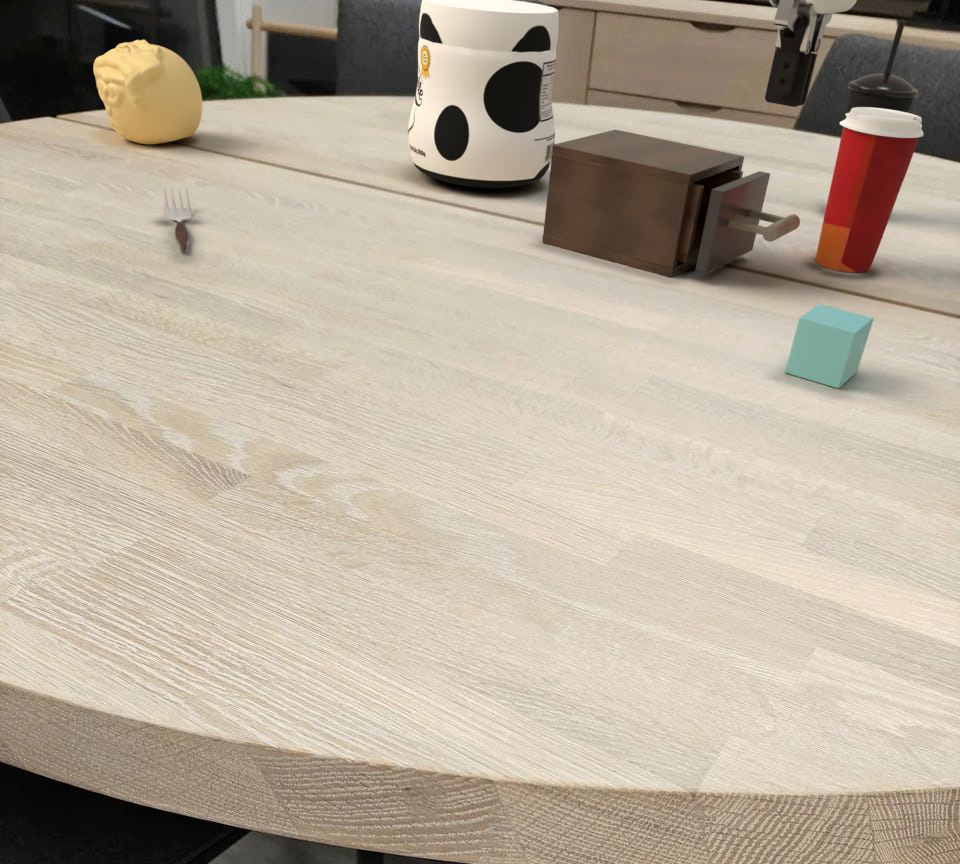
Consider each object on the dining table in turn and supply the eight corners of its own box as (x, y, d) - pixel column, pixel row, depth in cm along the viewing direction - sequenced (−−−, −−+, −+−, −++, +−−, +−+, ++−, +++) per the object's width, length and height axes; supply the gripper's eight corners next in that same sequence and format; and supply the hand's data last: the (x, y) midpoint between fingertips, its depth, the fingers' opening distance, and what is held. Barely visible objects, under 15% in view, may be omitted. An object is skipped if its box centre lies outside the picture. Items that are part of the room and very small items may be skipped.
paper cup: (884, 262, 105) (931, 114, 96) (875, 281, 99) (924, 125, 90) (810, 247, 107) (849, 102, 98) (797, 265, 101) (837, 112, 93)
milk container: (388, 163, 124) (391, -9, 113) (516, 162, 129) (531, -2, 118) (434, 200, 111) (442, 10, 100) (573, 197, 117) (595, 17, 106)
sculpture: (88, 133, 124) (73, 33, 117) (176, 127, 131) (166, 31, 124) (132, 153, 118) (119, 48, 111) (222, 145, 124) (214, 45, 118)
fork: (169, 257, 89) (167, 234, 88) (164, 208, 101) (162, 187, 100) (199, 257, 90) (197, 234, 88) (190, 209, 102) (188, 188, 100)
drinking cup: (813, 215, 119) (865, 19, 106) (817, 201, 124) (867, 14, 112) (879, 225, 117) (940, 27, 105) (880, 210, 123) (937, 22, 111)
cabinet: (724, 251, 103) (744, 156, 98) (671, 277, 95) (690, 174, 89) (602, 220, 110) (615, 129, 104) (542, 242, 101) (552, 144, 95)
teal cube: (803, 357, 80) (819, 303, 78) (856, 372, 79) (874, 317, 76) (784, 372, 77) (799, 316, 75) (838, 389, 76) (856, 332, 73)
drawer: (798, 261, 99) (819, 183, 95) (754, 287, 91) (775, 203, 87) (635, 221, 107) (647, 147, 102) (582, 241, 99) (593, 162, 95)
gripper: (864, -168, 70) (794, 120, 81) (920, -151, 80) (852, 102, 92) (764, -174, 73) (710, 104, 85) (831, -157, 84) (775, 89, 95)
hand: (784, 103), depth 88 cm, fingers closed
